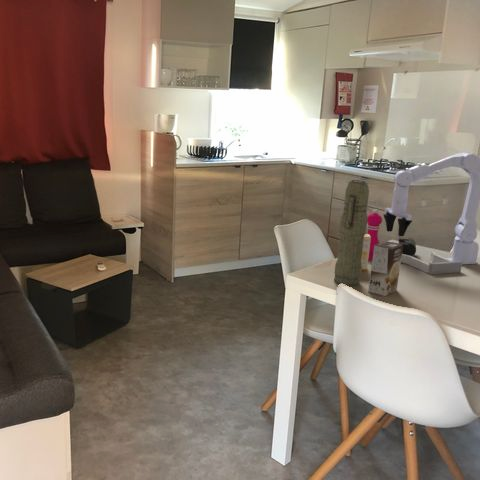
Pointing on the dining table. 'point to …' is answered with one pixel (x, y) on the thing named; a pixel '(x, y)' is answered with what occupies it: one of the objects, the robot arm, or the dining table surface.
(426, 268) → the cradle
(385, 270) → the coffee box
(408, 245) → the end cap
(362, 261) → the cream bottle
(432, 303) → the dining table surface
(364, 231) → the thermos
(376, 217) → the pepper mill
